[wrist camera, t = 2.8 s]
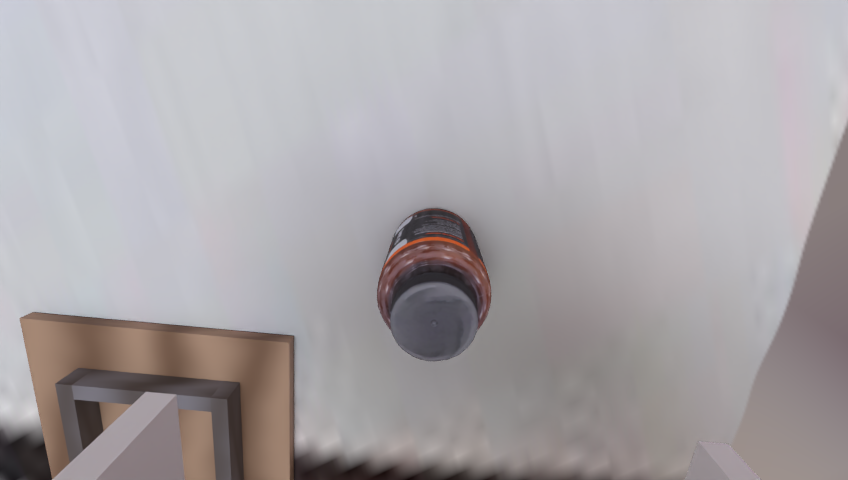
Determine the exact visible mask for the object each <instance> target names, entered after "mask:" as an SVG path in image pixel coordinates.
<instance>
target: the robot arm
mask: <svg viewBox="0 0 848 480" xmlns="http://www.w3.org/2000/svg"><path fill="white" fill-rule="evenodd" d="M52 480H185V477H184V467H183V456H182V446H181V436H180V426H179V416H178V405H177V395H176V394H165V393H154V392H145V393H144V394H143V395H142V396H141V397H140V398H139V399H138V400H137V401H136V402H134V403H133V404H132V405H131V406H130V407H129V408H128V409H127V410H126V411H125V412H124V413H123V414H122V415H121V416H120V417H118V418H117V419H116V420H115V421H114V422H113V423H112V424H111V425H110V426H109V427H108V428H107V429H106V430H105V431H104V432H102V433H101V434H100V435H99V436H98V437H97V438H96V439H95V440H94V441H93V442H92V443H91V444H90V445H89V446H88V447H86V448H85V449H84V450H83V451H82V452H81V453H80V454H79V455H78V456H77V457H76V458H75V459H74V460H73V461H72V462H71V463H69V464H68V465H67V466H66V467H65V468H64V469H63V470H62V471H61V472H60V473H59V474H58V475H57V476H56V477H55V478H53V479H52ZM685 480H761V479H760V478H759V477H758V476H757V474H755V472H754V471H753V470H752V469H751V468H750V467H749V466H748V465H747V464H746V462H745V461H744V460H743V459H742V458H741V457H740V456H739V455H738V454H737V453H736V451H735V450H734V449H733V448H732V447H731V446H730V445H729V444H725V443H714V442H703V441H698V443H697V446H696V449H695V452H694V455H693V458H692V461H691V464H690V467H689V470H688V473H687V475H686V478H685Z"/></svg>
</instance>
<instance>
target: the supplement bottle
mask: <svg viewBox="0 0 848 480" xmlns="http://www.w3.org/2000/svg"><path fill="white" fill-rule="evenodd" d="M377 301H378V308H379V310H380V313H381V315H382V317H383V319H384V321H385V323H386V325H387V326H388V327H389V329H390V330H391V331H392V334H393V336H394V338H395V340H396V342H397V343H398V345H399V346H400V347H401V348H402V349H403V350H404V351H406V352H407V353H408V354H410V355H412V356H413V357H416V358H418V359H421V360H426V361H441V360H448V359H450V358H452V357H455V356H457V355H459V354H461V353H462V352H463V351H464V350H465V349H466V348H468V346H469V345H470V344H471V342H472V341H473V339H474V337H475V335H476V332H477V330H478V329H479V328H480V326H481V325H482V323H483V322H484V320H485V319H486V317H487V314H488V311H489V308H490V303H491V286H490V281H489V277H488V274H487V271H486V267H485V265H484V262H483V259H482V256H481V253H480V250H479V248H478V245H477V242H476V239H475V236H474V234H473V233H472V231H471V229H470V227H469V226H468V225H467V224H466V222H465V221H464V220H462V219H461V218H460V217H459V216H458V215H456V214H454V213H452V212H449V211H446V210H442V209H425V210H422V211H419V212H416V213H414V214H413V215H411V216H409V217H408V218H407V219H406V220H404V222H402V224H401V225H400V226H399V228H398V229H397V231H396V233H395V234H394V237H393V239H392V242H391V246H390V249H389V252H388V255H387V258H386V260H385V263H384V266H383V268H382V272H381V276H380V279H379V282H378V289H377Z"/></svg>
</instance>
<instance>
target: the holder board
mask: <svg viewBox="0 0 848 480" xmlns="http://www.w3.org/2000/svg"><path fill="white" fill-rule="evenodd" d="M20 323H21V328H22V332H23V337H24V342H25V347H26V352H27V357H28V362H29V367H30V372H31V377H32V382H33V386H34V391H35V396H36V401H37V406H38V411H39V416H40V421H41V426H42V431H43V435H44V440H45V445H46V450H47V455H48V460H49V465H50V470H51V475H52V479H53V478H55V477H56V476H57V475H58V474H59V473H60V472H61V471H62V470H63V469H64V468H65V467H66V466H67V465H68V464H69V463H71V462H72V461H73V460H74V459H75V458H76V457H77V456H78V455H79V454H80V453H81V452H82V451H83V450H84V449H85V448H86V447H88V446H89V445H90V444H91V443H92V442H93V441H94V440H95V439H96V438H97V437H98V436H99V435H100V434H101V433H102V432H104V431H105V430H106V429H107V428H108V427H109V426H110V425H111V424H112V423H113V422H114V421H115V420H116V419H117V418H118V417H120V416H121V415H122V414H123V413H124V412H125V411H126V410H127V409H128V408H129V407H130V406H131V405H132V404H133V403H134V402H136V401H137V400H138V399H139V398H140V397H141V396H142V395H143V394H144V393H145V392H154V393H165V394H176V395H177V405H178V416H179V426H180V436H181V446H182V456H183V467H184V477H185V480H294V336H288V335H277V334H266V333H255V332H244V331H233V330H222V329H211V328H200V327H189V326H178V325H167V324H156V323H145V322H134V321H123V320H112V319H101V318H90V317H78V316H67V315H56V314H45V313H34V312H32V313H30V314H28V315H26V316H24V317H21V318H20Z"/></svg>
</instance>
